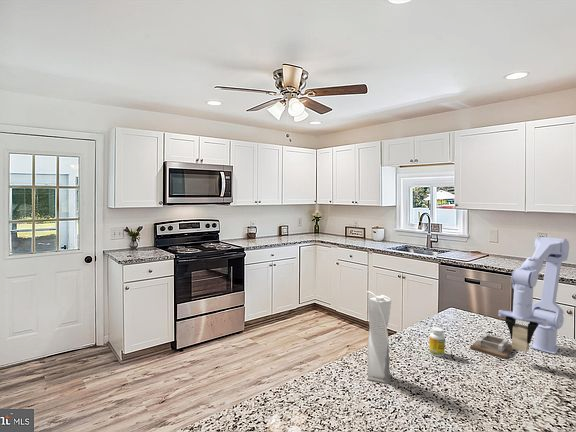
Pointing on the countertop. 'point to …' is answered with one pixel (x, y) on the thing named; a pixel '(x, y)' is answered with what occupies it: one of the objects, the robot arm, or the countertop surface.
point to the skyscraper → (378, 339)
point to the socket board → (492, 346)
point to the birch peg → (520, 337)
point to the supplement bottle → (437, 342)
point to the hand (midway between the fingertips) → (520, 340)
